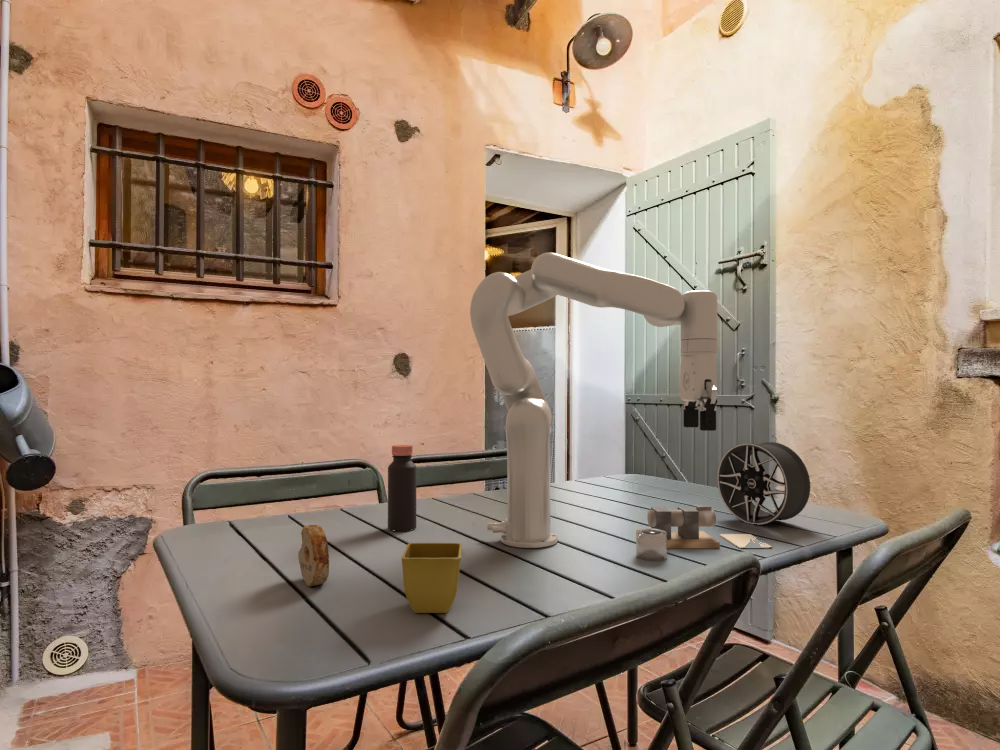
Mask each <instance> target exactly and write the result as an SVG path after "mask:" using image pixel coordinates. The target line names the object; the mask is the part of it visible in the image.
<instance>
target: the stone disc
mask: <svg viewBox="0 0 1000 750" xmlns="http://www.w3.org/2000/svg"><path fill="white" fill-rule="evenodd" d="M300 535H301V548H300V549H299V550H298V553H297V554H298V556H297V557H298V564H299V568H300V573H301V577H302V579H303V580H304V583H305V582H306V583H307V584H306V583H305V584H306V585H307V586H308V587H315V586H319V585H322V584H324V583H326V582H327V580H328V579H329V575H330V555H329V554H330V553H329V545H328V539H327V536H326V531H325V530H324V528H323V526H321V525H318V524H308V525H305V526H303V527H302V528H301V533H300Z"/></svg>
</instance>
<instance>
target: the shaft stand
mask: <svg viewBox="0 0 1000 750" xmlns="http://www.w3.org/2000/svg"><path fill="white" fill-rule="evenodd" d="M695 507H696V508H694V507H692V506H677V509H668V508H666V507H665V506H650V509H648V511H647V523H648V526H649V528H652V529H660V530H663V531H666V532H667V549H720V547H721V545H720V543H721V542H720V541H718V540H717V539H715V538H714V537H712V536H711V535H710V534H708V533H707V532H705V531H704V530H700V527H706V528H709V527H713V528H714V527H715V526H716V525H717V515H716V513H715V510H713V509H712V506H711V505H696V506H695ZM672 527H673V528H675V527H676V528H677V530H672Z"/></svg>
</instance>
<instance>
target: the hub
mask: <svg viewBox="0 0 1000 750" xmlns="http://www.w3.org/2000/svg"><path fill="white" fill-rule="evenodd" d="M635 533H636V534H635V535H636V536H635V537H636V538H635V545H636V546H635V549H636V551H635V554H636V555H635V557H636V558H637V557H638V558H637V559H639V560H642V561H643V560H644V561H646V562H647V561H648V562H662V561H665V560H667V559H668V548H667V532H666V531H663V530H660V529H652V528H651V527H649V528H639V529H636V530H635Z"/></svg>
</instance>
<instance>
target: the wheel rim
mask: <svg viewBox="0 0 1000 750" xmlns="http://www.w3.org/2000/svg"><path fill="white" fill-rule="evenodd" d="M758 452H761V453H763V454H765V455H766V456H767V457H769V458H768V459H766V460H763V461H761V460H760V458H759V456H758V455H759V454H758ZM751 456H753V460H754V461H753V462H754V465H753V464H752V463H751ZM771 461H774V462H775V464H774V467H773V469H772V470H771V474H769V473H765V472H766V469H765V467H764V466H763V464H765V463H770V462H771ZM777 469H780V472H781V474H782V477H783V482H782V481H779V480H777V479H775V478H774V476H775V473H776V471H777ZM764 473H765V474H764ZM716 475H717V476H716V477H717V478H716V480H717V488H718V492H719V496H720V497H721V500H722V502H723V503H724V505H725V507H726V508H727V510H728V511H729V512H730V513H731V514H732V515H733V516H734V517H735V518H737V519H738V520H740V521H741V522H744V523H746V522H747V523H746V524H749V523H752V524H751V525H753V524H757V525H756V526H760V525H761V526H762V525H767V524H770V523H774V522H775V521H785V520H790V519H792V518H795V517H796V516H798V515H799V514H800V513H801V512H802V511H803V510H804V509H805V507H806V506H807V504H808V501H809V499H810V494H811V479H810V475H809V470H808V469H807V466H806V464H805V463H804V461H803V459H802V458H801V457H800V456H799V455H798V454H797V453H796V452H795V451H794V450H793V449H791V448H790V447H789V446H787V445H785V444H782V443H779V442H776V441H774V442H773V441H766V442H765V441H764V442H761V443H754V442H753V443H751V442H746V443H740V444H737V445H734V446H732V447H731V448H729V450H728V451H726V452H725V454H724V455H723V456H722V458H721V460H720V462H719V465H718V468H717V474H716ZM771 483H772V484H774V485H777V486H781V487H784V490H776V489H775V490H771V486H770V485H771ZM774 495H783V499H782V502H781V504H780V506H778V504H777V501H776V500H775V497H774ZM766 497H770V499H771V501H772V504H773V506H774V508H775V511H774V512H773V511H772V510H770V509H769V508H767V506H764V505H763V504H764V502H765V501H766ZM762 509H763V510H762Z"/></svg>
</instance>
